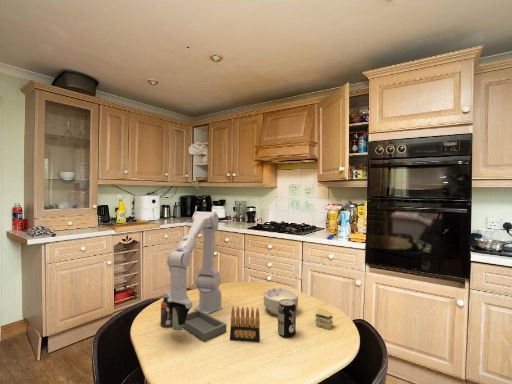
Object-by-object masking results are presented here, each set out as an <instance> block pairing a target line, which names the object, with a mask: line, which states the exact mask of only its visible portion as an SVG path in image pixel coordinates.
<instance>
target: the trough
mask: <svg viewBox="0 0 512 384" xmlns="http://www.w3.org/2000/svg"><path fill="white" fill-rule="evenodd" d="M182 330H184V331H186V332H188V333H190V334H191V335H192V336H194V337H195V338H197V339H198V340H200V341H202V342H204V343H206V342H208V341H210V340H213V339H215V338H216V337H218V336H221V335H223V334H224V333H227V323H226V322H223V321H221V320H219V319H217V318H215V317H214V316H211V315H209V314H206V313H204V312H202V311H200V310H196V309H195V310H194V311H190V312H188V314H187V317H186V321H185V324H184V328H183V329H182Z"/></svg>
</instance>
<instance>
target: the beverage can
mask: <svg viewBox="0 0 512 384" xmlns="http://www.w3.org/2000/svg"><path fill="white" fill-rule="evenodd" d="M296 315H297V308H296V305H295V302H294V301H293V300H290V299H282V300H280V301H279V305H278V315H277V332H278V335H280V337H282V338H292V337H294V335H296V332H297V331H296V329H297V326H296V325H297V323H296V321H297V318H296V317H297V316H296Z"/></svg>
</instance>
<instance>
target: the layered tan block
mask: <svg viewBox="0 0 512 384" xmlns="http://www.w3.org/2000/svg"><path fill="white" fill-rule="evenodd" d="M332 315H334V313H333V312H331V311H329V310H327V309H324V308H317V309H316V311H315V320H314V322H315V326H316V327H318V328H323V329H324V330H327V331H328V330H330V329H331V328H332V327H333V324H334V322H333V318H334V316H332Z"/></svg>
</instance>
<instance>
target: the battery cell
mask: <svg viewBox="0 0 512 384" xmlns="http://www.w3.org/2000/svg"><path fill="white" fill-rule="evenodd" d="M183 328H184V324H183V325H179V324H178V315H177V311H176V309H175V307H174V308H173V326H172V330H174V331H181V330H184V329H183Z"/></svg>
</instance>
